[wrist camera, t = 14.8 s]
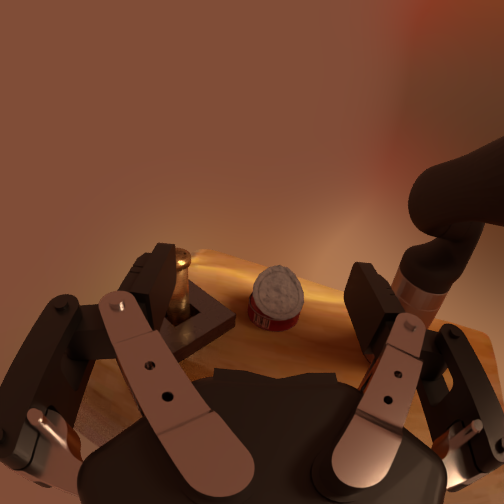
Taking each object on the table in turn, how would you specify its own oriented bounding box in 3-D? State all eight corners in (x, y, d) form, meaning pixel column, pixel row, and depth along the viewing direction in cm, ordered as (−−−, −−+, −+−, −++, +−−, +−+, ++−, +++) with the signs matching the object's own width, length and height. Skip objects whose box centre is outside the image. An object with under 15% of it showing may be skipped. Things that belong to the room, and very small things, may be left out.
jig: (186, 289, 57) (185, 277, 55) (234, 326, 49) (235, 314, 48) (127, 317, 47) (124, 305, 46) (171, 366, 40) (169, 355, 38)
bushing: (182, 309, 51) (178, 244, 44) (199, 324, 48) (197, 257, 41) (160, 321, 48) (151, 254, 41) (176, 337, 45) (169, 269, 38)
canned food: (288, 320, 58) (320, 291, 53) (274, 349, 50) (311, 320, 45) (248, 286, 59) (276, 253, 54) (227, 310, 50) (259, 275, 45)
